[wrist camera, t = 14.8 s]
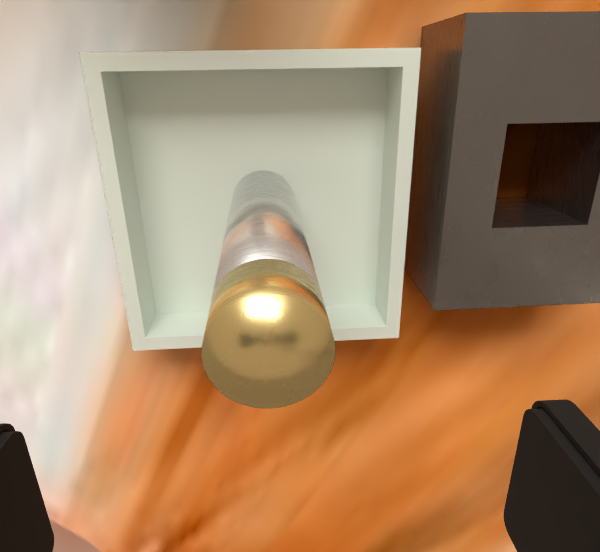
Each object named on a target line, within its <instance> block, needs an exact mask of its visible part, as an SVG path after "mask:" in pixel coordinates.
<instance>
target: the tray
mask: <svg viewBox="0 0 600 552" xmlns="http://www.w3.org/2000/svg"><path fill="white" fill-rule="evenodd" d="M79 55H80V60H81V66H82V71H83V77H84V82H85V88H86V93H87V99H88V104H89V110H90V115H91V121H92V126H93V132H94V137H95V143H96V148H97V154H98V159H99V165H100V171H101V176H102V182H103V187H104V193H105V198H106V204H107V209H108V215H109V220H110V226H111V231H112V237H113V242H114V248H115V253H116V259H117V264H118V270H119V275H120V281H121V286H122V292H123V298H124V303H125V309H126V314H127V320H128V325H129V331H130V336H131V342H132V347H133V351H138V350H159V349H179V348H200V347H202V343H203V338H204V333H205V328H206V323H207V318H208V314H209V309H210V304H211V299H212V294H213V289H214V284H215V280H216V275H217V270H218V265H219V260H220V255H221V250H222V246H223V241H224V236H225V231H226V226H227V221H228V216H229V211H230V207H231V202H232V197H233V193H234V190H235V187H236V185H237V184H238V182H239V181H240V180H241V179H242V178H243V177H245V176H246V175H248V174H249V173H252V172H255V171H261V170H266V171H271V172H275V173H277V174H279V175H280V176H282V177H283V178H284V179H285V180H286V181H287V182H288V183H289V184H290V186H291V188H292V190H293V193H294V197H295V200H296V204H297V208H298V211H299V215H300V218H301V222H302V225H303V229H304V233H305V236H306V240H307V243H308V247H309V251H310V254H311V258H312V261H313V265H314V269H315V272H316V276H317V279H318V283H319V287H320V290H321V294H322V297H323V301H324V304H325V308H326V312H327V315H328V319H329V322H330V326H331V330H332V333H333V337H334V341H342V340H363V339H383V338H399V329H400V316H401V303H402V290H403V277H404V264H405V251H406V238H407V225H408V212H409V199H410V186H411V173H412V160H413V148H414V135H415V122H416V109H417V96H418V83H419V70H420V57H421V48H362V49H289V50H216V51H143V52H79Z"/></svg>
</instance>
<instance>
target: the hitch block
mask: <svg viewBox="0 0 600 552" xmlns="http://www.w3.org/2000/svg"><path fill="white" fill-rule="evenodd" d="M522 123H540V126H539V132H538V138H537V143H536V149H535V155H534V160H533V166H532V172H531V177H530V183H529V189H528V194H527V197H511V198H496V196H497V190H498V183H499V176H500V170H501V163H502V157H503V150H504V143H505V137H506V130H507V124H522ZM404 269H405V271H406V272H407V274H408V275H409V276H410V278H411V279H412V281H413V282H414V283H415V285H416V286H417V287H418V289H419V290H420V292H421V293H422V294H423V296H424V297H425V298H426V300H427V301H428V303H429V304H430V305H431V307H432V308H433V310H453V309H475V308H497V307H519V306H541V305H562V304H584V303H600V11H597V12H491V13H464V14H461V15H458V16H455V17H452V18H448V19H445V20H442V21H439V22H436V23H433V24H430V25H427V26H424V27H422V38H421V57H420V70H419V83H418V96H417V109H416V122H415V135H414V148H413V160H412V173H411V186H410V199H409V212H408V225H407V238H406V251H405V264H404Z"/></svg>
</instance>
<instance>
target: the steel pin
mask: <svg viewBox="0 0 600 552" xmlns="http://www.w3.org/2000/svg"><path fill="white" fill-rule="evenodd" d="M201 353H202V363H203V367H204V370H205V373H206V375H207V376H208V378H209V380H210V381H211V383H212V384H213V385H214V386H215V388H216V389H217V390H218V391H219V392H221V393H222V394H223V395H225V396H226V397H228V398H229V399H231V400H233V401H235V402H237V403H239V404H243V405H246V406H250V407H255V408H278V407H284V406H288V405H291V404H294V403H297V402H299V401H301V400H303V399H305V398H306V397H308V396H310V395H311V394H312V393H314V392H315V391H316V390H317V389H318V388H319V387H320V386H321V385H322V384H323V383H324V381H325V380H326V379H327V377H328V375H329V374H330V372H331V369H332V367H333V363H334V359H335V342H334V337H333V333H332V330H331V326H330V322H329V319H328V315H327V312H326V308H325V304H324V301H323V297H322V294H321V290H320V287H319V283H318V279H317V276H316V272H315V269H314V265H313V261H312V258H311V254H310V251H309V247H308V243H307V240H306V236H305V233H304V229H303V225H302V222H301V218H300V215H299V211H298V208H297V204H296V200H295V197H294V193H293V190H292V188H291V186H290V184H289V183H288V182H287V181H286V180H285V179H284V178H283V177H282V176H280V175H279V174H277V173H275V172H271V171H266V170H261V171H255V172H252V173H249V174H248V175H246V176H245V177H243V178H242V179H241V180H240V181H239V182H238V184H237V185H236V187H235V190H234V193H233V197H232V202H231V207H230V211H229V216H228V221H227V226H226V231H225V236H224V241H223V246H222V250H221V255H220V260H219V265H218V270H217V275H216V280H215V284H214V289H213V294H212V299H211V304H210V309H209V314H208V318H207V323H206V328H205V333H204V338H203V343H202V351H201Z"/></svg>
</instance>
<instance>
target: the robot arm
mask: <svg viewBox="0 0 600 552" xmlns="http://www.w3.org/2000/svg"><path fill="white" fill-rule="evenodd" d="M504 522H505V526H506V529H507V532H508V534H509V536H510V538H511V540H512V542H513V544H514V546H515V548H516V550H517V552H600V431H599V430H598V429H597V428H596V427H595V425H594V424H593V423H592V422H591V421H590V420H589V419H588V418H587V417H586V416H585V415H584V414H583V413H582V411H581V410H580V409H579V408H578V407H577V406H576V405H575V404H574V403H573V402H571V401H569V400H546V401H536V402H535V403H534V404H533V406H532V409H528V410H526V411H525V413H524V416H523V421H522V426H521V430H520V435H519V440H518V445H517V450H516V455H515V460H514V465H513V470H512V475H511V480H510V484H509V489H508V494H507V499H506V504H505V509H504ZM53 545H54V535H53V531H52V528H51V525H50V521H49V518H48V515H47V511H46V508H45V505H44V501H43V498H42V495H41V491H40V488H39V485H38V482H37V478H36V475H35V472H34V468H33V465H32V462H31V458H30V455H29V452H28V449H27V445H26V442H25V439H24V436H23V434H22V433H21V432H19V431H15V429H14V427H13V426H12V425H11V424H0V552H52V551H53Z"/></svg>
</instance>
